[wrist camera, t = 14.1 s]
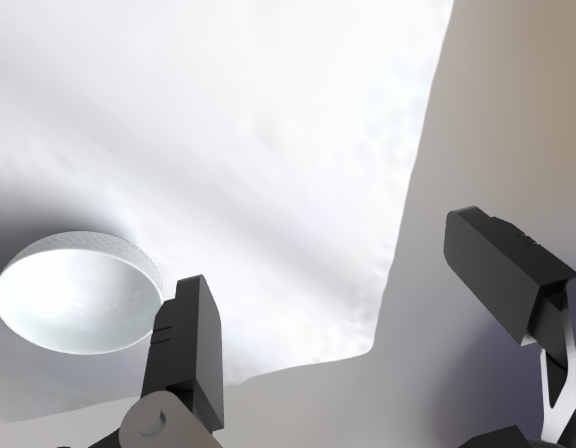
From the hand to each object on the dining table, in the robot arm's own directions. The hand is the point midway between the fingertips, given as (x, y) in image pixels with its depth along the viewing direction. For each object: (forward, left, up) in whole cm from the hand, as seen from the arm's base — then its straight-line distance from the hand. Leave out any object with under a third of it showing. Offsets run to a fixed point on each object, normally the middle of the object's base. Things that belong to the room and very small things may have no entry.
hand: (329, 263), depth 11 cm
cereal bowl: (-24, -18, -30) cm, 43 cm away
